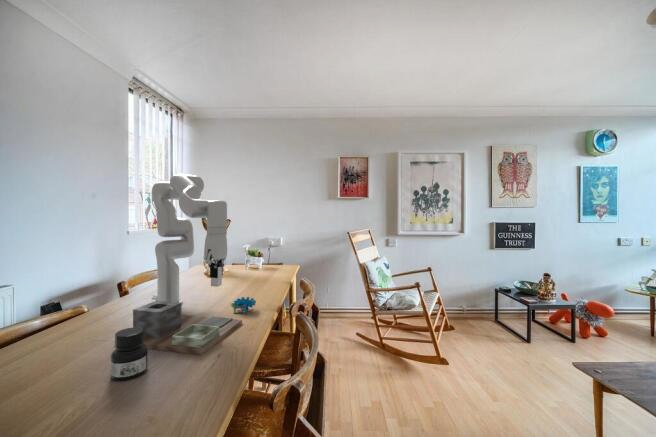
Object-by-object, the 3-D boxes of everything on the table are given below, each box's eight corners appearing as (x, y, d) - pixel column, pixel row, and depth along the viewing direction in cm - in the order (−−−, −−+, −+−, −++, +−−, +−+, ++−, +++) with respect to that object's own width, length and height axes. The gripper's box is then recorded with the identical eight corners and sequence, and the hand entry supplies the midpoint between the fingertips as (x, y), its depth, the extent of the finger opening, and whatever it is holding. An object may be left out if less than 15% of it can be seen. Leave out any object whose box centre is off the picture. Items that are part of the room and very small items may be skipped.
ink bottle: (104, 384, 81) (104, 340, 81) (113, 368, 89) (113, 328, 89) (147, 377, 85) (146, 335, 84) (151, 362, 93) (151, 324, 92)
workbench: (114, 345, 104) (114, 313, 104) (171, 317, 132) (171, 292, 131) (201, 355, 98) (201, 321, 98) (241, 323, 126) (242, 297, 125)
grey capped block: (207, 285, 121) (207, 263, 121) (211, 284, 124) (211, 262, 124) (221, 286, 120) (221, 264, 120) (225, 285, 123) (225, 263, 123)
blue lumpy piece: (257, 304, 146) (253, 294, 138) (257, 316, 142) (253, 306, 134) (234, 307, 145) (228, 297, 137) (233, 319, 141) (228, 309, 133)
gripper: (219, 229, 130) (218, 272, 131) (195, 232, 114) (195, 280, 115) (235, 230, 129) (234, 273, 129) (214, 233, 112) (213, 282, 113)
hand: (216, 276), depth 122 cm, fingers closed on grey capped block, 3 cm apart
